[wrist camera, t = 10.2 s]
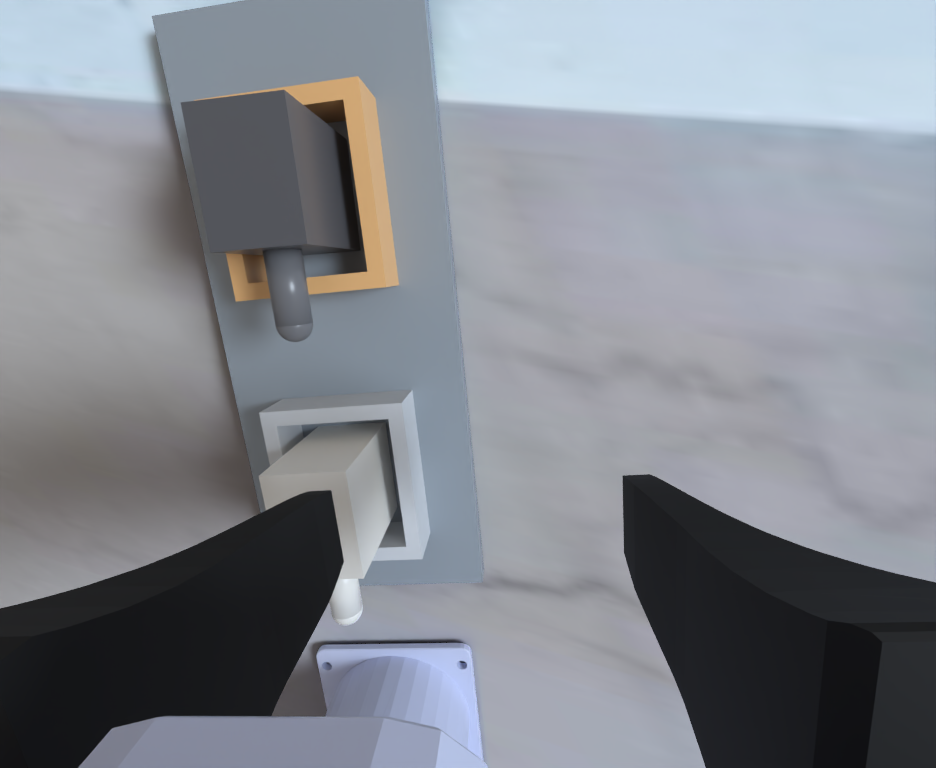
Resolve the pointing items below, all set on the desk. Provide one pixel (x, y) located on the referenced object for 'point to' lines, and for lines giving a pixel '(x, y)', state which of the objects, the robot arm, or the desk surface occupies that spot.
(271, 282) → the dark gray plug
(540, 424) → the desk surface
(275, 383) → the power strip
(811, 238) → the desk surface
